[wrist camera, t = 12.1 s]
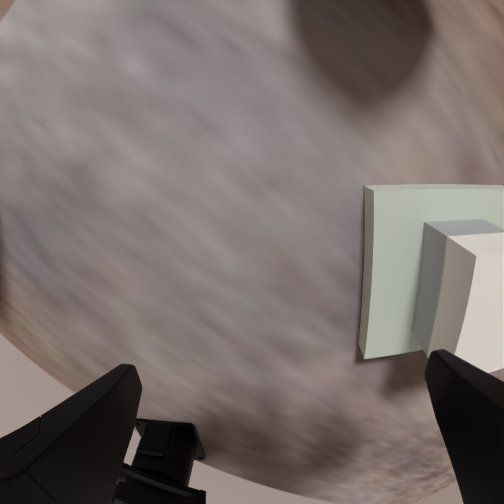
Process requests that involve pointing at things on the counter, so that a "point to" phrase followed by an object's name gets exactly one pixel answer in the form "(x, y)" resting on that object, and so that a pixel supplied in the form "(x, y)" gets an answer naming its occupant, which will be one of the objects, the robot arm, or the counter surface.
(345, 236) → the counter surface
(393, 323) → the stand
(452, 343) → the block
